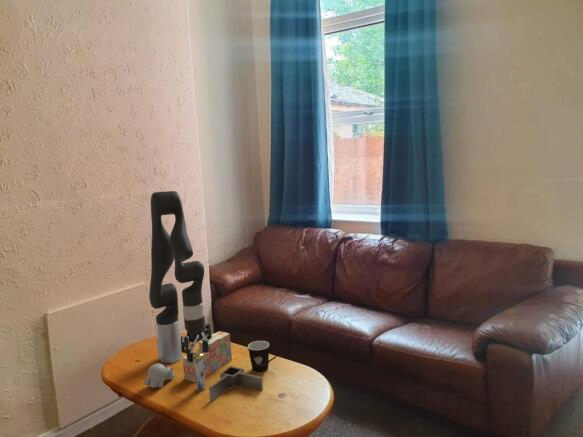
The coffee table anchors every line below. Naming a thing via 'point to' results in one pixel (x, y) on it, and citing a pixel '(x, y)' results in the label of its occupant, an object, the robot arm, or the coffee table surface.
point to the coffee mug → (260, 355)
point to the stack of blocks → (211, 356)
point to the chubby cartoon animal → (158, 375)
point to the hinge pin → (199, 369)
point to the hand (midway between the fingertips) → (198, 356)
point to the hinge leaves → (234, 381)
